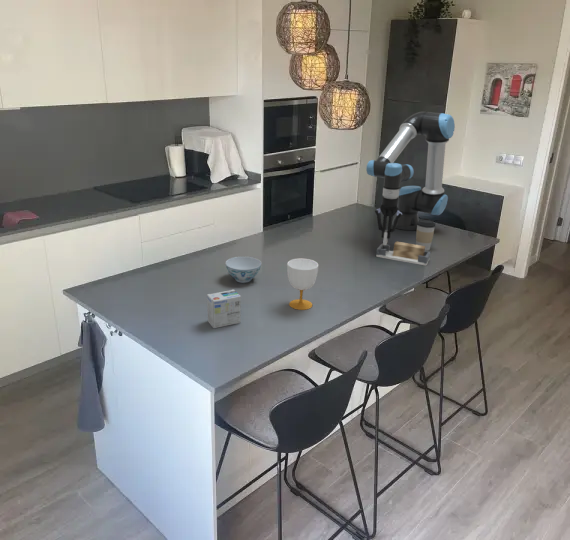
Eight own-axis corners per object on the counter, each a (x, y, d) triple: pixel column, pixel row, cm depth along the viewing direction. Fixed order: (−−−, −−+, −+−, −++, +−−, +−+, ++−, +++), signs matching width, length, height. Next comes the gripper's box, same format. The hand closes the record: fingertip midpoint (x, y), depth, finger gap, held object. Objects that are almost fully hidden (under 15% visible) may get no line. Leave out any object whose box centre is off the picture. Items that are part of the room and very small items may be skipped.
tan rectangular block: (392, 255, 260) (394, 243, 257) (394, 252, 263) (396, 241, 261) (421, 260, 255) (423, 248, 252) (423, 258, 258) (425, 246, 256)
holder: (380, 251, 268) (381, 243, 266) (429, 259, 259) (430, 251, 258) (376, 256, 260) (377, 248, 259) (426, 265, 251) (427, 257, 250)
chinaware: (221, 274, 233) (221, 258, 230) (254, 271, 238) (254, 254, 235) (231, 288, 220) (231, 271, 217) (265, 284, 225) (266, 267, 222)
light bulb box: (234, 315, 198) (234, 288, 194) (241, 323, 193) (241, 295, 188) (206, 320, 193) (206, 293, 189) (213, 329, 188) (213, 301, 184)
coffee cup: (432, 252, 269) (436, 223, 263) (413, 250, 270) (417, 221, 265) (431, 246, 277) (435, 218, 271) (413, 244, 279) (417, 216, 273)
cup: (291, 296, 215) (293, 256, 209) (319, 301, 211) (322, 261, 205) (281, 307, 205) (282, 266, 198) (310, 314, 201) (312, 271, 195)
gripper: (374, 196, 251) (370, 244, 260) (402, 200, 247) (396, 248, 256) (378, 193, 258) (373, 240, 267) (405, 197, 253) (400, 244, 262)
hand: (385, 244), depth 261 cm, fingers closed
